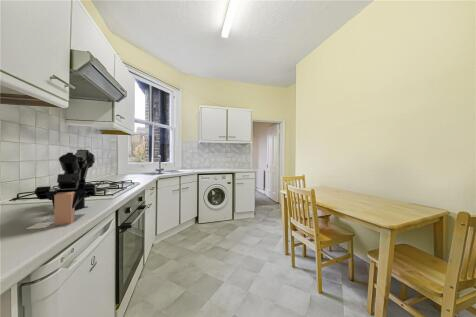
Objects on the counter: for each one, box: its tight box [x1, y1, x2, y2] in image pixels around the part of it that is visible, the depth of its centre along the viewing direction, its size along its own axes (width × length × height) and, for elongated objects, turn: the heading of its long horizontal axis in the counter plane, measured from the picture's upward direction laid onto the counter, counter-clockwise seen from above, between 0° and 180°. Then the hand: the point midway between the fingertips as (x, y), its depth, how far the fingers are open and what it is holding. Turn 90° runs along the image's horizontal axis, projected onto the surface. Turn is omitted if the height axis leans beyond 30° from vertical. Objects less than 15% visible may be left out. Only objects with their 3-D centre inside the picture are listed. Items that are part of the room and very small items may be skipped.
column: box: [53, 192, 76, 226], centre depth 74 cm, size 5×5×12 cm
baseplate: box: [24, 213, 86, 231], centre depth 75 cm, size 15×12×1 cm
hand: (63, 208), depth 73 cm, fingers closed on column, 5 cm apart
